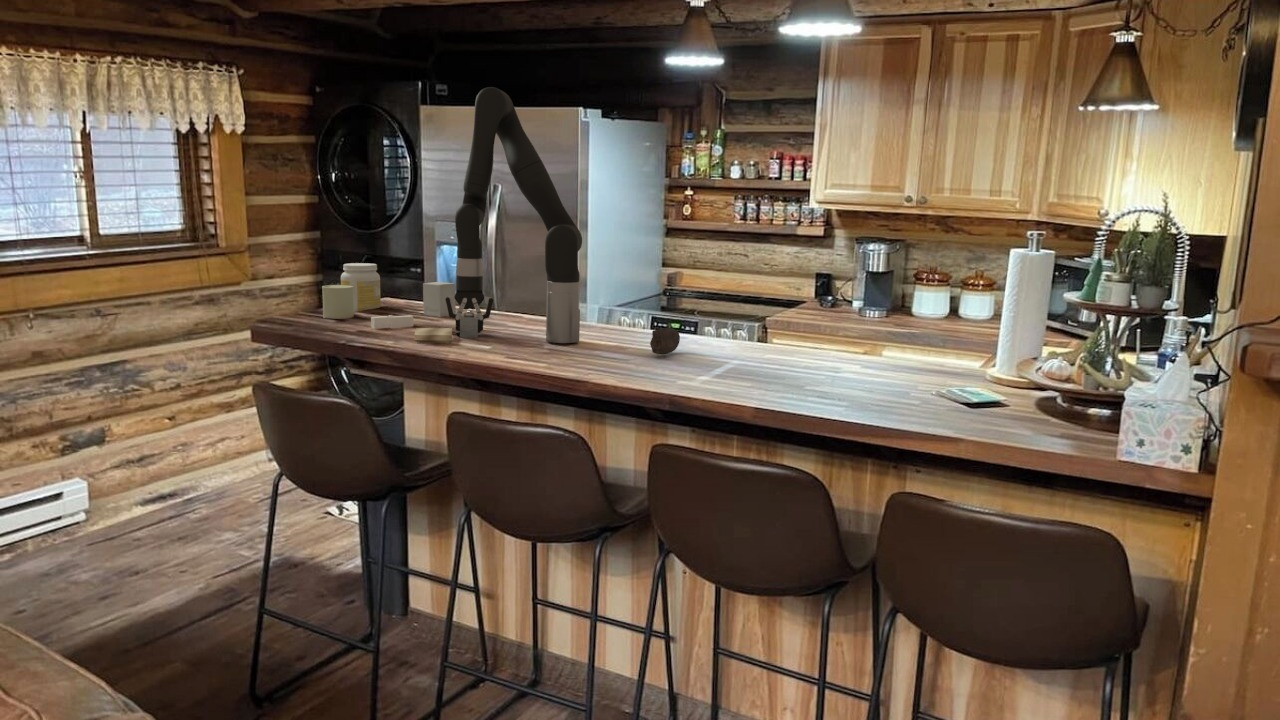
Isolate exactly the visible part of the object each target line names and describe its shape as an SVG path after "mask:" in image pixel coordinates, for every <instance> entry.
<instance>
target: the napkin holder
mask: <svg viewBox="0 0 1280 720" xmlns="http://www.w3.org/2000/svg"><path fill="white" fill-rule="evenodd" d="M408 327H409V328H411V327H414V315H411V314H410V315H409V314H408V315H393V314H389V315H383V316H382V315H381V316H371V317H370V328H371V329H374V330H378V329H399V328H400V329H401V328H408Z"/></svg>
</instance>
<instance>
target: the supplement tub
mask: <svg viewBox="0 0 1280 720" xmlns="http://www.w3.org/2000/svg"><path fill="white" fill-rule="evenodd" d="M342 267H343V268H342V269H343V271H344V272H342V273H341V275H340V285H349V286H353V287H354V288H353V308H354V313H356V312H362V311H367V310H374V309H379V308H381V303H382V302H381V276H380V274H379V273H378V272H377V271H378V264H376V263H368V262H367V263H366V262H365V263H364V262H363V263H362V262H360V263H359V262H355V263H354V262H351V263H344V264H343V265H342Z"/></svg>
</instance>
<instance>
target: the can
mask: <svg viewBox="0 0 1280 720" xmlns="http://www.w3.org/2000/svg"><path fill="white" fill-rule="evenodd" d="M353 288H354V287H353V286H349V285H341V284H329V285H322V286H321V289H322V291H321V293H322V318H323V319H333V320H335V319H339V320H340V319H350V318H353V317H354V316H355V314H354V313H355V312H354V308H353Z"/></svg>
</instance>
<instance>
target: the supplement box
mask: <svg viewBox="0 0 1280 720" xmlns="http://www.w3.org/2000/svg"><path fill="white" fill-rule="evenodd" d="M422 291H423V292H422V294H423V295H422V296H423V298H422V302H423V304H422V307H423V315H426V316H431V317H438V318H443V317H447V316H448V317H449V313H448V309H447V304H446V297H451V296H455V294H456V283H453V282H445V281H434V282H425V283H422ZM456 302H457V301H456V300H455V299H454V300H453V304H451V306H452V310H453V313H454V314H457V311H456V308H457V307H456Z"/></svg>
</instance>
